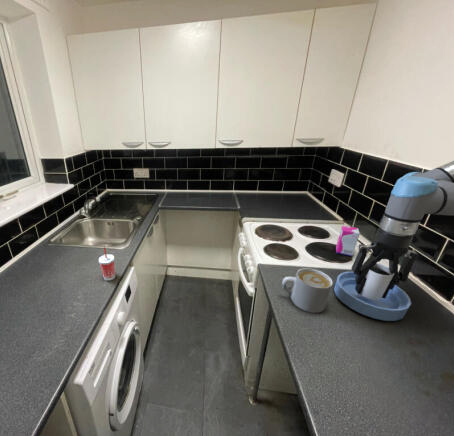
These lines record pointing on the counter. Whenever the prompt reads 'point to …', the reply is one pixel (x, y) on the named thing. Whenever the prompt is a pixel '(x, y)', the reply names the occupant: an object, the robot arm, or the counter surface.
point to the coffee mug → (309, 289)
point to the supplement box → (347, 240)
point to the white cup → (376, 282)
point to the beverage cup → (107, 266)
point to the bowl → (378, 309)
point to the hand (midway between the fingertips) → (369, 293)
